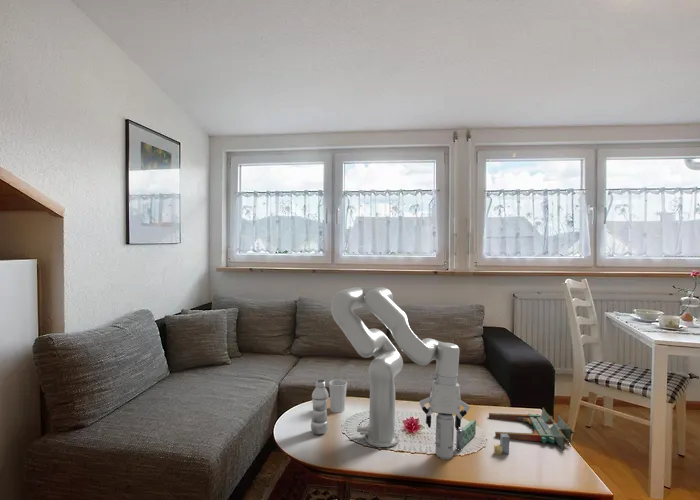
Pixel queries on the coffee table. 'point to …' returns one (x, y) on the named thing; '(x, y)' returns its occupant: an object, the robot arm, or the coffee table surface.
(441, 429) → the energy drink can
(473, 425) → the gate
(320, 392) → the plastic bottle
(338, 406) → the cup
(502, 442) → the grey and yellow block
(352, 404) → the coffee table surface
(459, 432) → the hinge post
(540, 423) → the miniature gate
